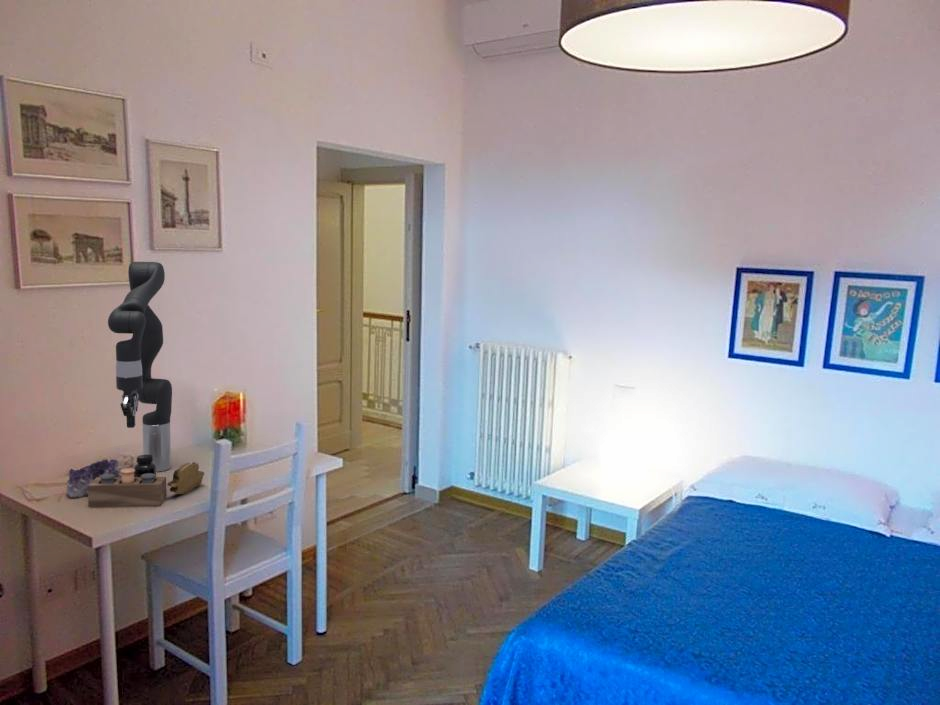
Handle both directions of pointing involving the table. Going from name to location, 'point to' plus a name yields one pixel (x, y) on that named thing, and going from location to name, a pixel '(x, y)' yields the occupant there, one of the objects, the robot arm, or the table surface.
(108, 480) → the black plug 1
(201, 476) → the wooden carving
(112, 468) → the geode
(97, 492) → the walnut socket block
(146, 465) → the supplement bottle
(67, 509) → the table surface
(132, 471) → the terracotta plug
